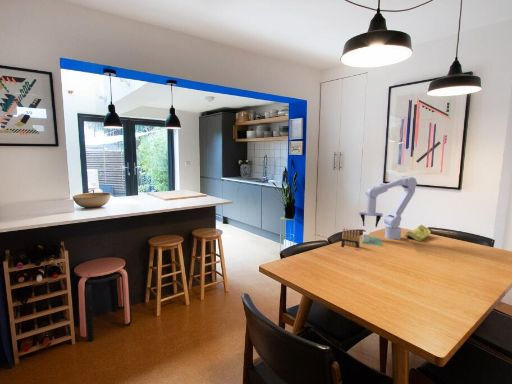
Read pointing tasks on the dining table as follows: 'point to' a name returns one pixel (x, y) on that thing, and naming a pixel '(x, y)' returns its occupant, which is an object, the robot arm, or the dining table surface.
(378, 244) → the header board
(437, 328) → the dining table surface
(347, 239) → the ammunition clip
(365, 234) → the plug housing
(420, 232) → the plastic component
